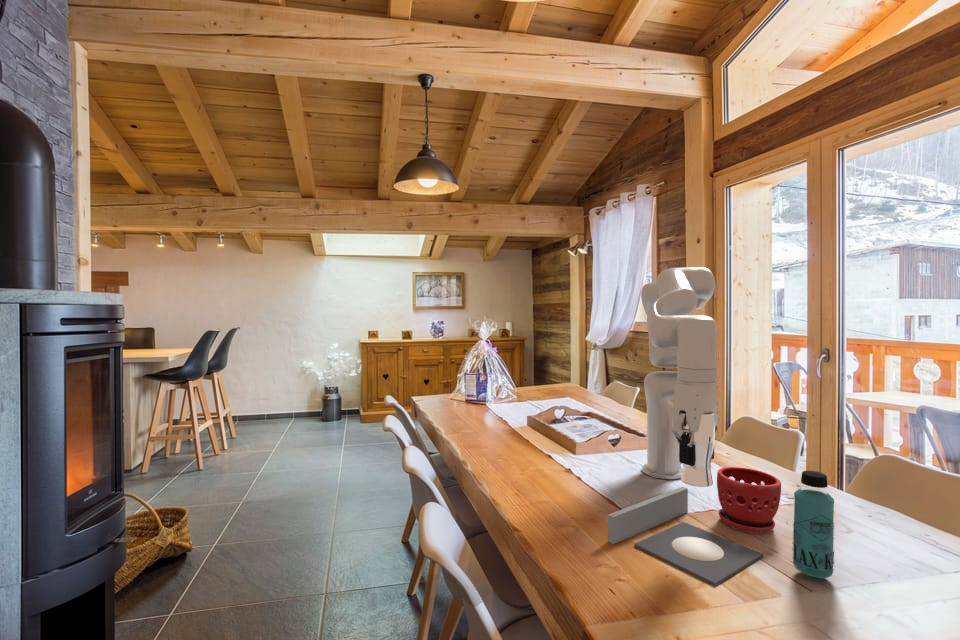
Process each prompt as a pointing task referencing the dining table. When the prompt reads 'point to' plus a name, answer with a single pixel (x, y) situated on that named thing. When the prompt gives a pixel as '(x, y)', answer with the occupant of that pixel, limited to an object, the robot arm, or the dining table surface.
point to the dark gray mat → (699, 552)
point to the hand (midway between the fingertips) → (696, 460)
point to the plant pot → (748, 499)
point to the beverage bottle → (813, 527)
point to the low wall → (647, 514)
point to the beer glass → (701, 453)
